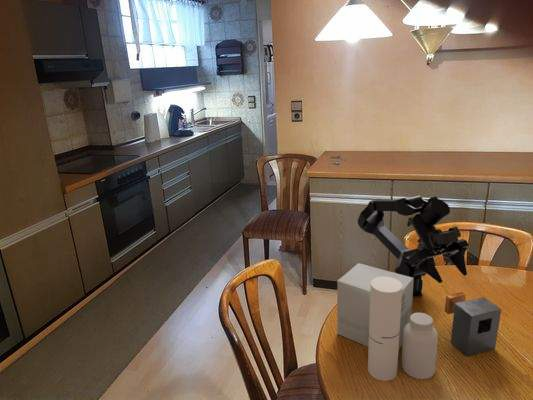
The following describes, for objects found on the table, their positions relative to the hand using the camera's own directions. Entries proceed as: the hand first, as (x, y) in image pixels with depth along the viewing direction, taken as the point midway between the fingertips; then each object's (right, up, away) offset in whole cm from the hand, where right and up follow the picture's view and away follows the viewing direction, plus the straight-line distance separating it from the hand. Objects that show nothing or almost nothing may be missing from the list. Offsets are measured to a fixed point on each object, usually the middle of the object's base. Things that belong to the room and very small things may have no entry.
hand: (453, 278), depth 114 cm
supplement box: (-23, -16, 0) cm, 28 cm away
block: (+2, -17, -7) cm, 18 cm away
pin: (0, -10, -5) cm, 11 cm away
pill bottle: (-16, -20, -14) cm, 29 cm away
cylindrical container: (-25, -21, -13) cm, 35 cm away
